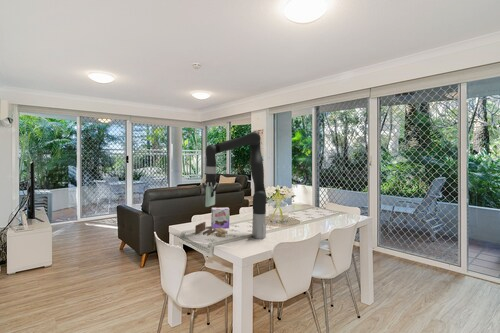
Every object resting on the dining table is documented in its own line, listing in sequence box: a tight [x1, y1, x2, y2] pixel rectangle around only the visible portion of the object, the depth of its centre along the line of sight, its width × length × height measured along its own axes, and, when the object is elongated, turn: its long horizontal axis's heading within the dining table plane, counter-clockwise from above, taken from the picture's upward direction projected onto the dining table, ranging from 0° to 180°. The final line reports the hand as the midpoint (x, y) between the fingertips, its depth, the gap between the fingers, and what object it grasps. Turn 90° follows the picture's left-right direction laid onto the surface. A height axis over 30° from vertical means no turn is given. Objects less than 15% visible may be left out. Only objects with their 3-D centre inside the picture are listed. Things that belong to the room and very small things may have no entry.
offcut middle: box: [216, 232, 226, 238], centre depth 200 cm, size 5×10×2 cm, turn 0°
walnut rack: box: [194, 221, 217, 236], centre depth 204 cm, size 10×12×7 cm
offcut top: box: [215, 228, 228, 235], centre depth 200 cm, size 5×10×2 cm, turn 29°
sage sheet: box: [204, 185, 216, 208], centre depth 202 cm, size 2×11×14 cm, turn 160°
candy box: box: [210, 207, 231, 230], centre depth 219 cm, size 14×6×16 cm, turn 101°
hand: (210, 196), depth 202 cm, fingers closed on sage sheet, 2 cm apart
